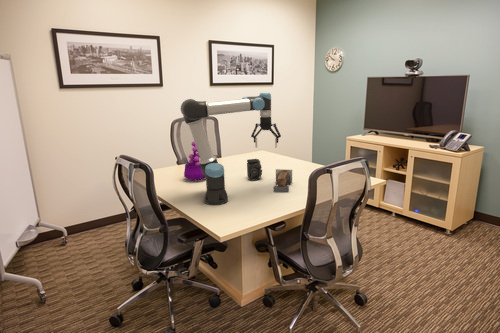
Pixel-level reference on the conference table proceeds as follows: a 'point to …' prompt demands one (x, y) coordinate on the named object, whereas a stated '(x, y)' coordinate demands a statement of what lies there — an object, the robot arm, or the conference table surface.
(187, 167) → the decorative plant
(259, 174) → the camera
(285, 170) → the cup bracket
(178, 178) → the conference table surface
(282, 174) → the rail
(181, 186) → the conference table surface
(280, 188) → the rest block
